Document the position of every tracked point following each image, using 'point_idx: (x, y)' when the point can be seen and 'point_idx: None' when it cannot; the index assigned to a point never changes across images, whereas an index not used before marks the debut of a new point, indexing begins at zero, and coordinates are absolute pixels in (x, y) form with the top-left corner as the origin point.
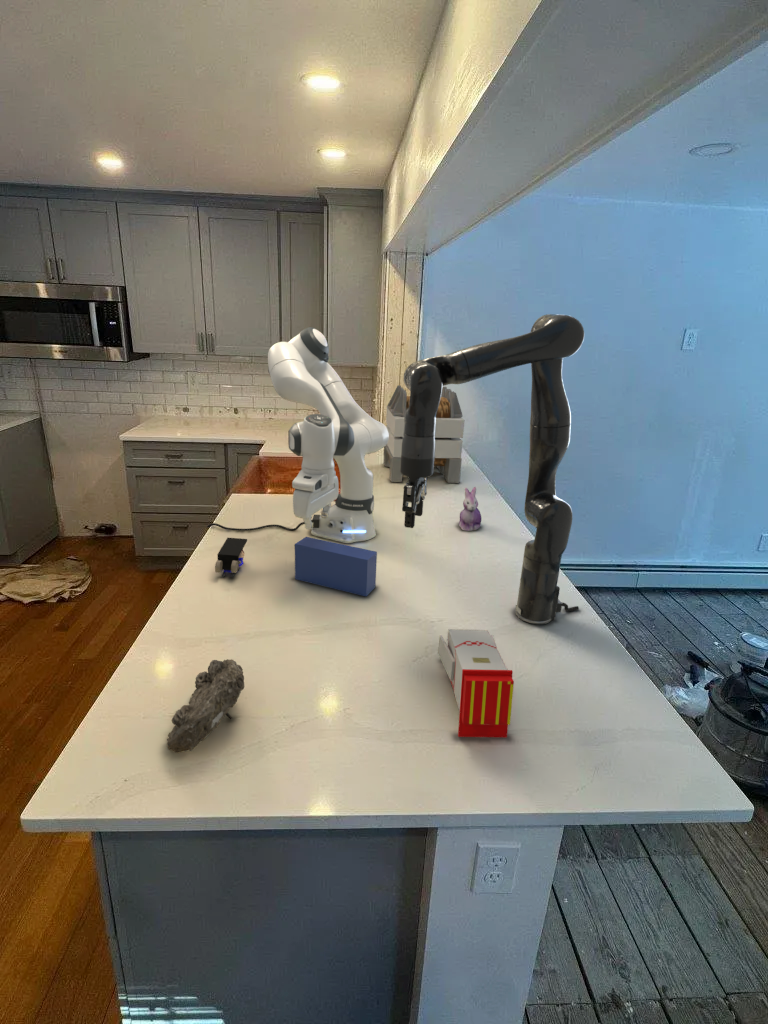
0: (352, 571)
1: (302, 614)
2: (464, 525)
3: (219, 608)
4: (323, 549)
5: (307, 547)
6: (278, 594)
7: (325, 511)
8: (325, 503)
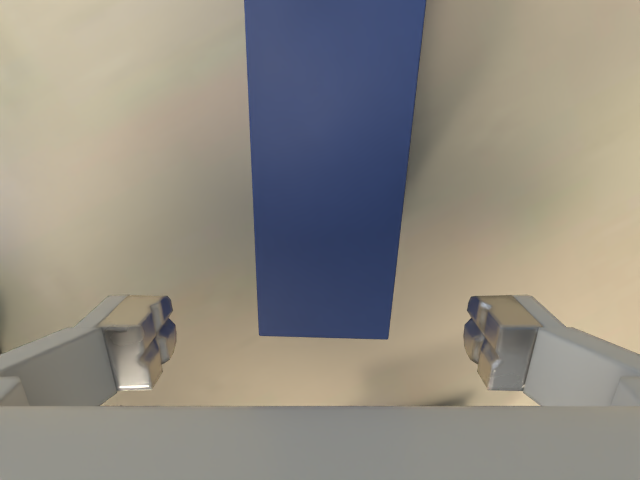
0: None
1: (628, 84)
2: None
3: (631, 348)
4: (397, 151)
5: (395, 260)
6: (496, 243)
7: (108, 357)
8: (203, 459)
